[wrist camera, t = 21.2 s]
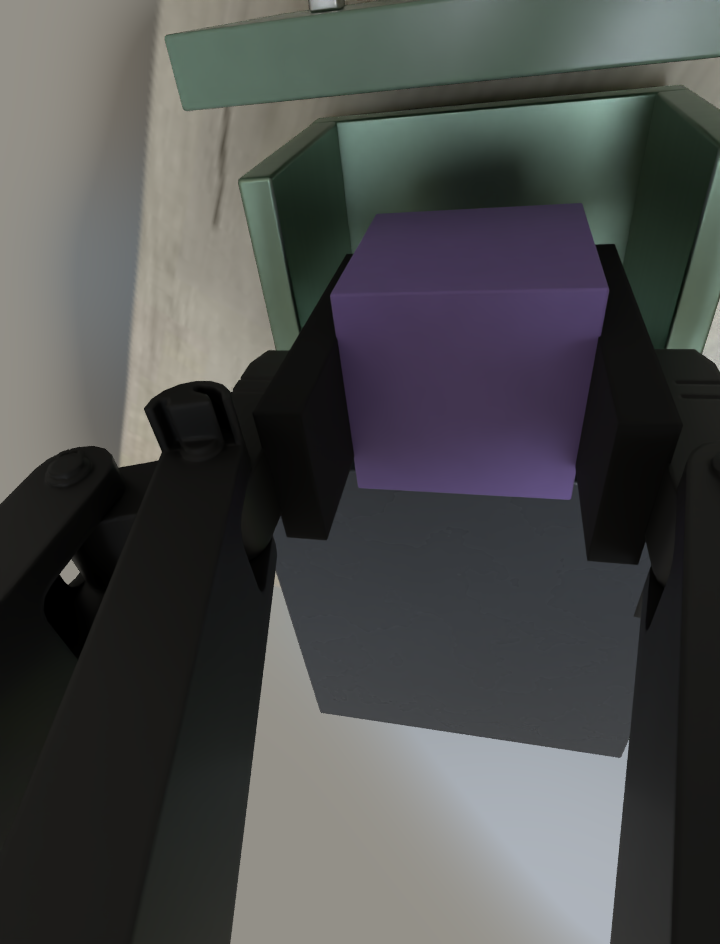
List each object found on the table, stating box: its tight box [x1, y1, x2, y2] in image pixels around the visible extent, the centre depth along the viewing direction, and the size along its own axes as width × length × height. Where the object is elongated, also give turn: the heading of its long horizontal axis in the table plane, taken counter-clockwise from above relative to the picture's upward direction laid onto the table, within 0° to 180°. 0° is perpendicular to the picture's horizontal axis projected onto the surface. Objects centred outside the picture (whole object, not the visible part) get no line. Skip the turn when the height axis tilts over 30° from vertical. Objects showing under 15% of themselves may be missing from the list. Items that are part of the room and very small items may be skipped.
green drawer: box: [165, 0, 720, 354], centre depth 14 cm, size 20×11×7 cm, turn 6°
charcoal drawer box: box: [273, 459, 651, 758], centre depth 23 cm, size 15×13×9 cm
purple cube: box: [330, 203, 609, 500], centre depth 12 cm, size 4×4×4 cm
